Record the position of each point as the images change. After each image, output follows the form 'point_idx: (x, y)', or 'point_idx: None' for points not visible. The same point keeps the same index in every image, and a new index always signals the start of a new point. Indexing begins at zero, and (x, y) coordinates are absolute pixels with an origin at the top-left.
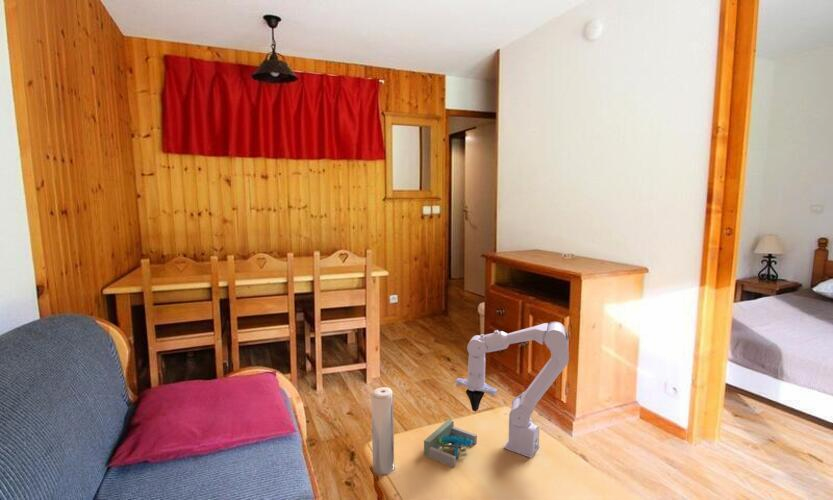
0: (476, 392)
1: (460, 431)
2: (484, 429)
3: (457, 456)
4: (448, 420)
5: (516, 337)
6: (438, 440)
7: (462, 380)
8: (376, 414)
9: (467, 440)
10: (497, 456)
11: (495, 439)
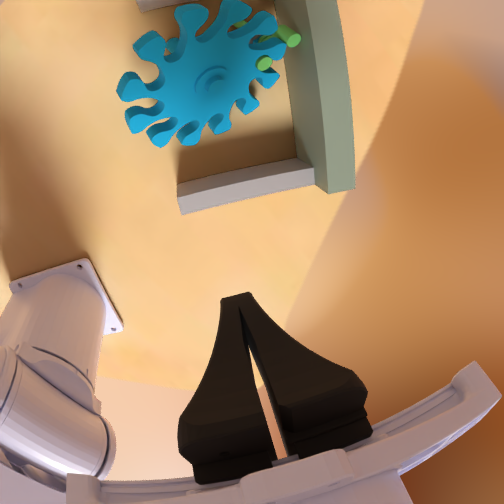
0: (244, 449)
1: (264, 176)
2: (226, 290)
3: (168, 48)
4: (351, 179)
5: None
6: (293, 30)
7: (450, 437)
8: None
9: (120, 81)
10: (64, 199)
11: (149, 275)
